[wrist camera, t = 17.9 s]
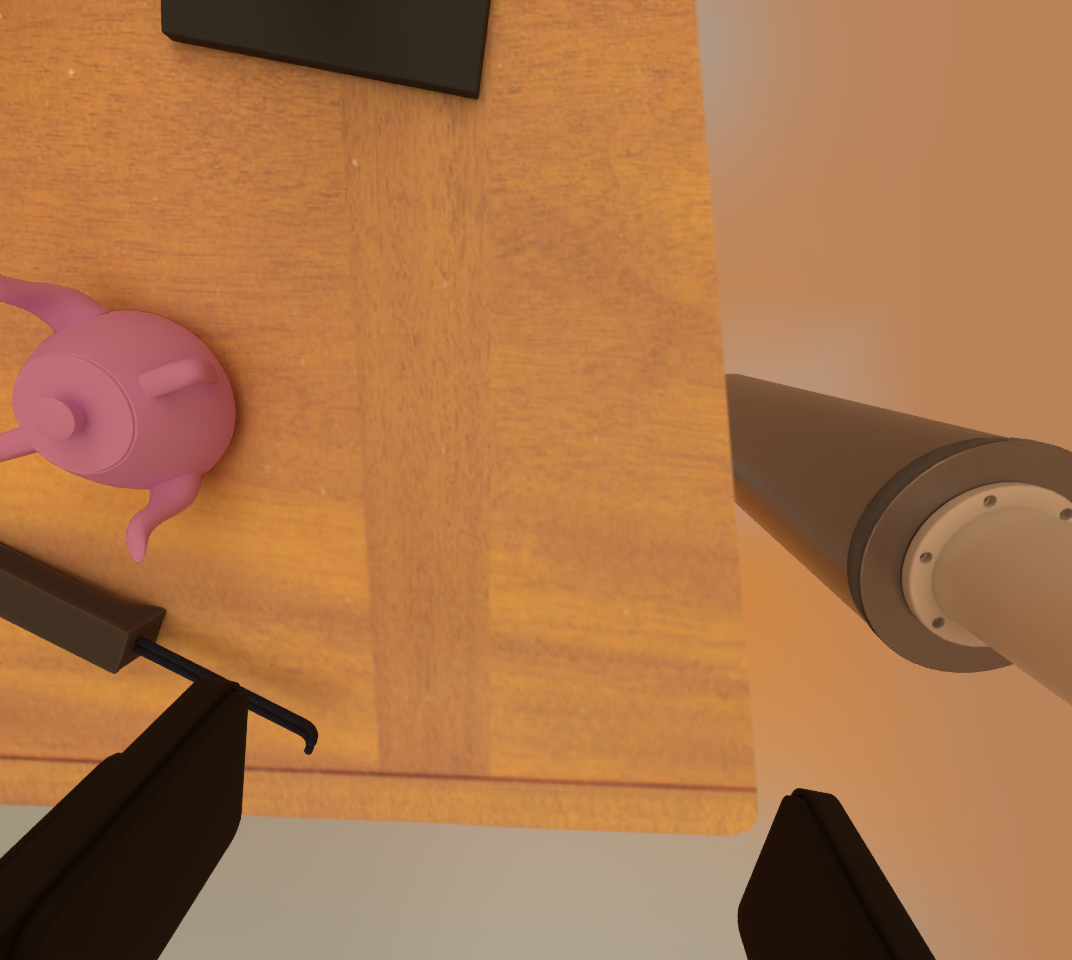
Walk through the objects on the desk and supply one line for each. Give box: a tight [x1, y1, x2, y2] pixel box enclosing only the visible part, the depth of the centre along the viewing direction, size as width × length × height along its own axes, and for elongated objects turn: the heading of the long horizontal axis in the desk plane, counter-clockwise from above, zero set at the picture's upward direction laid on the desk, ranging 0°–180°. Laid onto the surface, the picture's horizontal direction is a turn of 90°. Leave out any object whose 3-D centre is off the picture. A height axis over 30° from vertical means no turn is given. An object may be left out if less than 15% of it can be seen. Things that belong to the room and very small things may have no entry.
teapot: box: [0, 275, 236, 562], centre depth 33 cm, size 12×14×9 cm
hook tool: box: [0, 543, 318, 755], centre depth 40 cm, size 4×4×30 cm
